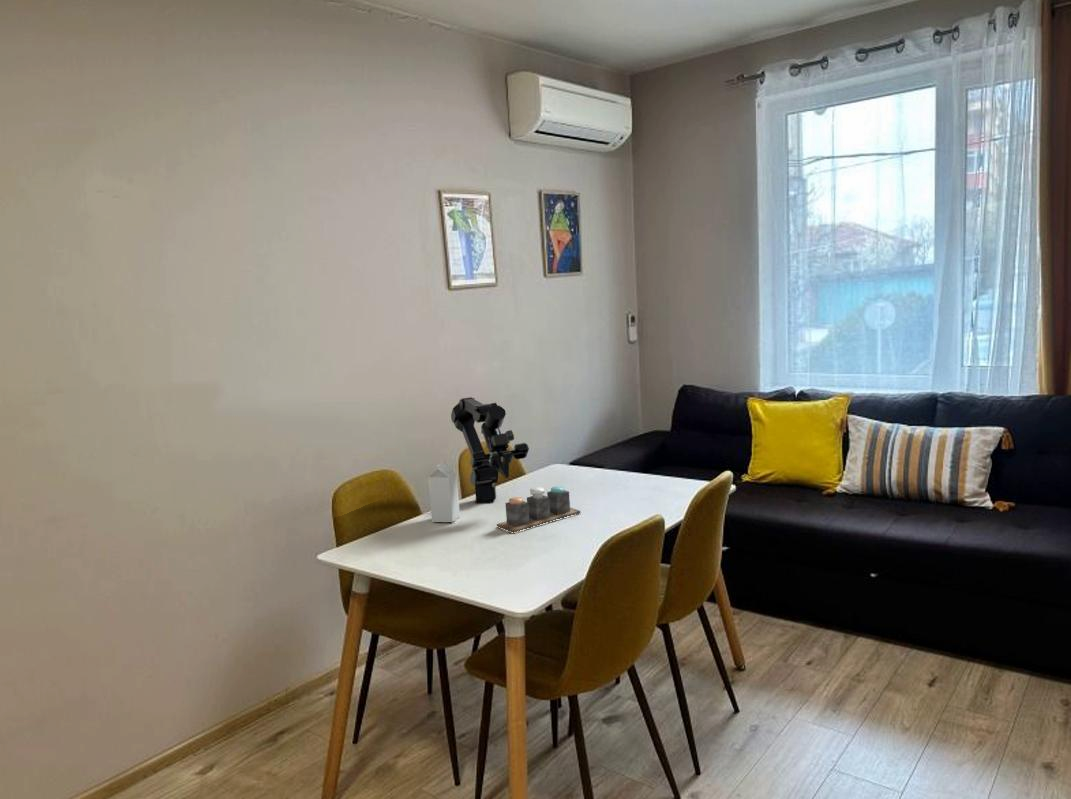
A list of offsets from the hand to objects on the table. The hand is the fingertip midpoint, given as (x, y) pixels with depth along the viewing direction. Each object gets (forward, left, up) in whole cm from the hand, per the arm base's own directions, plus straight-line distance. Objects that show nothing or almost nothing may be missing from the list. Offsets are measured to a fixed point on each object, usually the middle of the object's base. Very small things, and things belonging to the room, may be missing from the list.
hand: (507, 477), depth 229 cm
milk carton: (-21, +1, -14) cm, 25 cm away
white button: (+9, -3, -7) cm, 12 cm away
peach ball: (+3, -9, -8) cm, 12 cm away
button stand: (+9, -3, -13) cm, 17 cm away
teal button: (+16, +2, -8) cm, 18 cm away
